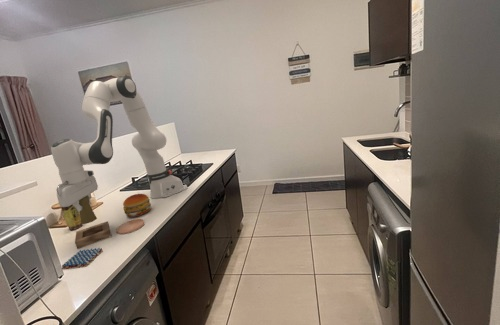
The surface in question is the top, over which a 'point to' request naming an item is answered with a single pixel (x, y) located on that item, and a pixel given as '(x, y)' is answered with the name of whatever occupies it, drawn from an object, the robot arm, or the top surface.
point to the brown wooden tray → (92, 234)
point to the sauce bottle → (72, 217)
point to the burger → (136, 205)
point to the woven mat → (82, 258)
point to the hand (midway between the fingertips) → (84, 207)
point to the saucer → (130, 226)
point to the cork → (86, 211)
